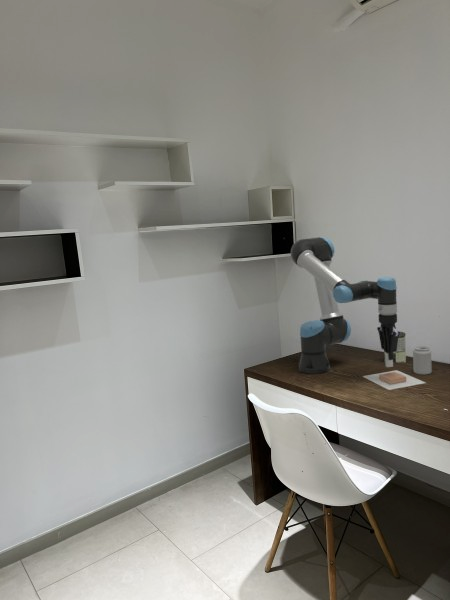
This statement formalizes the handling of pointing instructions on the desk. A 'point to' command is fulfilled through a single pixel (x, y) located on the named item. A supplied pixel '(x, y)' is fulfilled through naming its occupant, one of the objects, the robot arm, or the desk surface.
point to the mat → (409, 382)
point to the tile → (392, 377)
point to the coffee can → (399, 350)
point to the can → (422, 360)
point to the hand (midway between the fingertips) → (389, 366)
